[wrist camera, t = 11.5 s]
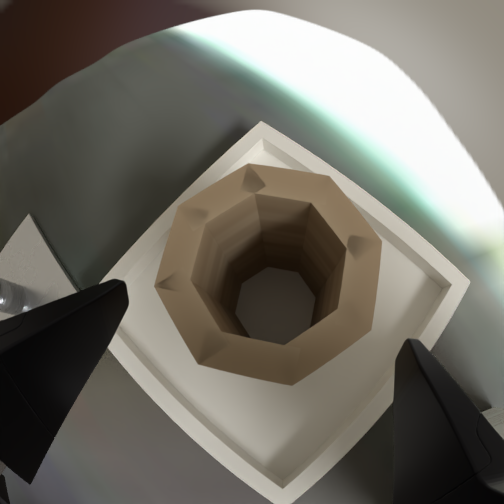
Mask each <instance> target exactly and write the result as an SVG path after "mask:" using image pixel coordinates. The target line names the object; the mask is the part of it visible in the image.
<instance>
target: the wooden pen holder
mask: <svg viewBox="0 0 504 504" xmlns="http://www.w3.org/2000/svg"><path fill="white" fill-rule="evenodd" d="M381 249H382V240H381V239H380V238H379V236H378V235H377V234H376V232H375V231H374V230H373V229H372V227H371V226H370V225H369V223H368V222H367V221H366V220H365V218H364V217H363V216H362V215H361V213H360V212H359V211H358V210H357V208H356V207H355V206H354V205H353V203H352V202H351V201H350V200H349V199H348V197H347V196H346V195H345V194H344V193H343V191H342V190H341V189H340V188H339V187H338V185H337V184H336V183H335V182H334V181H333V180H332V178H331V177H330V176H327V175H322V174H316V173H310V172H304V171H298V170H292V169H286V168H279V167H272V166H265V165H258V164H250V163H248V164H246V165H244V166H242V167H241V168H239V169H237V170H236V171H234V172H232V173H231V174H229V175H227V176H225V177H224V178H222V179H220V180H219V181H217V182H215V183H214V184H212V185H211V186H209V187H207V188H206V189H204V190H202V191H201V192H199V193H198V194H196V195H194V196H193V197H191V198H190V199H188V200H186V201H185V202H183V203H182V204H180V205H178V207H177V210H176V214H175V217H174V220H173V223H172V226H171V229H170V233H169V236H168V239H167V242H166V246H165V249H164V252H163V256H162V259H161V263H160V266H159V270H158V273H157V277H156V280H155V284H154V287H155V289H156V291H157V293H158V295H159V297H160V299H161V301H162V302H163V304H164V306H165V308H166V310H167V312H168V314H169V315H170V317H171V319H172V321H173V323H174V324H175V326H176V328H177V330H178V332H179V333H180V335H181V337H182V339H183V340H184V342H185V344H186V345H187V347H188V349H189V351H190V352H191V354H192V356H193V357H194V359H195V361H196V362H197V364H198V365H202V366H206V367H210V368H213V369H217V370H221V371H225V372H229V373H233V374H238V375H242V376H246V377H251V378H255V379H260V380H265V381H269V382H274V383H279V384H285V385H290V386H293V385H294V384H296V383H297V382H299V381H300V380H302V379H304V378H305V377H307V376H308V375H310V374H311V373H313V372H314V371H316V370H317V369H319V368H320V367H321V366H323V365H324V364H326V363H327V362H329V361H330V360H332V359H333V358H334V357H336V356H337V355H339V354H340V353H341V352H343V351H344V350H346V349H347V348H348V347H350V346H351V345H352V344H354V343H355V342H356V341H358V340H359V339H360V338H362V337H363V336H364V335H366V334H367V333H368V332H370V331H371V329H372V323H373V316H374V310H375V303H376V295H377V287H378V279H379V270H380V260H381ZM267 267H272V268H277V269H282V270H288V271H293V272H298V273H299V275H300V276H301V277H302V279H303V280H304V282H305V283H306V285H307V286H308V287H309V289H310V290H311V292H312V293H313V295H314V296H315V297H316V298H315V303H314V309H313V314H312V319H311V324H310V328H309V329H308V330H306V331H305V332H303V333H302V334H300V335H299V336H298V337H296V338H294V339H293V340H291V341H290V342H288V343H287V344H285V345H281V344H276V343H271V342H266V341H261V340H257V339H252V338H251V337H250V336H249V334H248V333H247V331H246V330H245V328H244V326H243V325H242V323H241V322H240V320H239V319H238V317H237V315H236V314H235V312H236V308H237V303H238V299H239V295H240V290H241V286H242V283H244V282H245V281H247V280H248V279H250V278H251V277H253V276H254V275H256V274H258V273H259V272H261V271H262V270H264V269H265V268H267Z"/></svg>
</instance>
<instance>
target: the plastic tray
mask: <svg viewBox="0 0 504 504" xmlns="http://www.w3.org/2000/svg"><path fill="white" fill-rule="evenodd" d="M248 163H250V164H258V165H265V166H272V167H279V168H286V169H292V170H298V171H304V172H310V173H316V174H322V175H327V176H330V177H331V178H332V180H333V181H334V182H335V183H336V184H337V185H338V187H339V188H340V189H341V190H342V191H343V193H344V194H345V195H346V196H347V197H348V199H349V200H350V201H351V202H352V203H353V205H354V206H355V207H356V208H357V210H358V211H359V212H360V213H361V215H362V216H363V217H364V218H365V220H366V221H367V222H368V223H369V225H370V226H371V227H372V229H373V230H374V231H375V232H376V234H377V235H378V236H379V238H380V239H381V240H382V249H381V260H380V270H379V279H378V287H377V295H376V303H375V310H374V316H373V323H372V329H371V331H370V332H368V333H367V334H366V335H364V336H363V337H362V338H360V339H359V340H358V341H356V342H355V343H354V344H352V345H351V346H350V347H348V348H347V349H346V350H344V351H343V352H341V353H340V354H339V355H337V356H336V357H334V358H333V359H332V360H330V361H329V362H327V363H326V364H324V365H323V366H321V367H320V368H319V369H317V370H316V371H314V372H313V373H311V374H310V375H308V376H307V377H305V378H304V379H302V380H300V381H299V382H297V383H296V384H294V385H293V386H290V385H285V384H279V383H274V382H269V381H265V380H260V379H255V378H251V377H246V376H242V375H238V374H233V373H229V372H225V371H221V370H217V369H213V368H210V367H206V366H202V365H198V364H197V362H196V361H195V359H194V357H193V356H192V354H191V352H190V351H189V349H188V347H187V345H186V344H185V342H184V340H183V339H182V337H181V335H180V333H179V332H178V330H177V328H176V326H175V324H174V323H173V321H172V319H171V317H170V315H169V314H168V312H167V310H166V308H165V306H164V304H163V302H162V301H161V299H160V297H159V295H158V293H157V291H156V289H155V287H154V284H155V280H156V277H157V273H158V270H159V266H160V263H161V259H162V256H163V252H164V249H165V246H166V242H167V239H168V236H169V233H170V229H171V226H172V223H173V220H174V217H175V214H176V210H177V207H178V205H180V204H182V203H183V202H185V201H186V200H188V199H190V198H191V197H193V196H194V195H196V194H198V193H199V192H201V191H202V190H204V189H206V188H207V187H209V186H211V185H212V184H214V183H215V182H217V181H219V180H220V179H222V178H224V177H225V176H227V175H229V174H231V173H232V172H234V171H236V170H237V169H239V168H241V167H242V166H244V165H246V164H248ZM111 279H119V280H123V281H124V282H125V283H126V285H127V291H128V297H129V306H128V309H127V311H126V313H125V315H124V317H123V319H122V321H121V323H120V325H119V327H118V329H117V331H116V333H115V335H114V337H113V339H112V340H111V342H110V344H109V346H108V349H109V350H110V351H111V352H112V354H113V355H114V356H115V357H116V358H117V360H118V361H119V362H120V363H121V364H122V366H123V367H124V368H125V369H126V370H127V371H128V373H129V374H130V375H131V376H132V377H133V378H134V380H135V381H136V382H137V383H138V384H139V385H140V386H141V387H142V388H143V390H144V391H145V392H146V393H147V394H148V395H149V396H150V397H151V398H152V399H153V400H154V401H155V402H156V403H157V404H158V406H159V407H160V408H161V409H162V410H163V411H164V412H165V413H166V414H167V415H168V416H169V417H170V418H171V419H172V420H173V421H174V422H175V423H176V424H177V425H179V426H180V427H181V428H182V429H183V430H184V431H185V432H186V433H187V434H188V435H189V436H190V437H191V438H192V439H193V440H195V441H196V442H197V443H198V444H199V445H200V446H201V447H202V448H203V449H205V450H206V451H207V452H208V453H209V454H210V455H211V456H213V457H214V458H215V459H216V460H217V461H219V462H220V463H221V464H222V465H223V466H225V467H226V468H227V469H228V470H230V471H231V472H232V473H233V474H235V475H236V476H237V477H238V478H240V479H241V480H242V481H244V482H245V483H246V484H248V485H249V486H250V487H252V488H253V489H254V490H256V491H257V492H258V493H260V494H261V495H263V496H264V497H265V498H267V499H268V500H270V501H271V502H273V503H274V504H291V503H292V502H294V501H295V500H296V499H297V498H298V497H300V496H301V495H302V494H303V493H304V492H306V491H307V490H308V489H309V488H310V487H311V486H313V485H314V484H315V483H316V482H317V481H318V480H319V479H320V478H322V477H323V476H324V475H325V474H326V473H327V472H328V471H329V470H330V469H331V468H332V467H333V466H334V465H335V464H336V463H337V462H338V461H340V460H341V459H342V458H343V457H344V456H345V455H346V454H347V453H348V452H349V451H350V449H351V448H352V447H353V446H354V445H355V444H356V443H357V442H358V441H359V440H360V439H361V438H362V437H363V436H364V435H365V434H366V432H367V431H368V430H369V429H370V428H371V427H372V426H373V425H374V424H375V422H376V421H377V420H378V419H379V418H380V417H381V415H382V414H383V413H384V412H385V411H386V409H387V408H388V407H389V406H390V405H391V403H392V402H393V396H394V374H395V360H396V357H397V355H398V353H399V351H400V349H401V347H402V345H403V343H404V341H405V340H406V339H407V338H412V339H418V340H420V341H421V342H422V343H423V345H424V346H425V347H426V348H427V349H428V350H429V351H430V350H431V349H432V347H433V346H434V344H435V343H436V341H437V340H438V338H439V337H440V335H441V333H442V332H443V330H444V328H445V327H446V325H447V324H448V322H449V320H450V319H451V317H452V315H453V313H454V312H455V310H456V308H457V306H458V305H459V303H460V301H461V299H462V297H463V295H464V294H465V292H466V290H467V288H468V286H469V284H470V281H469V280H468V279H467V278H466V277H465V276H464V275H463V274H462V273H461V272H460V271H459V270H458V269H457V268H456V267H455V266H454V265H453V264H452V263H451V262H450V261H448V260H447V259H446V258H445V257H444V256H443V255H442V254H441V253H440V252H439V251H437V250H436V249H435V248H434V247H433V246H432V245H431V244H430V243H428V242H427V241H426V240H425V239H424V238H423V237H422V236H420V235H419V234H418V233H417V232H416V231H415V230H413V229H412V228H411V227H410V226H409V225H407V224H406V223H405V222H404V221H403V220H401V219H400V218H399V217H398V216H396V215H395V214H394V213H393V212H391V211H390V210H389V209H388V208H386V207H385V206H384V205H383V204H381V203H380V202H379V201H378V200H376V199H375V198H374V197H372V196H371V195H370V194H368V193H367V192H366V191H364V190H363V189H362V188H360V187H359V186H358V185H356V184H355V183H354V182H352V181H351V180H350V179H348V178H347V177H345V176H344V175H343V174H341V173H340V172H338V171H337V170H336V169H334V168H333V167H331V166H330V165H328V164H327V163H326V162H324V161H323V160H321V159H320V158H318V157H317V156H315V155H314V154H312V153H311V152H309V151H308V150H306V149H305V148H303V147H302V146H300V145H299V144H297V143H296V142H294V141H293V140H291V139H289V138H288V137H286V136H285V135H283V134H281V133H280V132H278V131H277V130H275V129H273V128H272V127H270V126H268V125H267V124H265V123H264V122H262V121H261V122H259V123H258V124H257V125H256V126H255V127H254V128H253V129H251V130H250V131H249V132H248V133H247V134H246V135H245V136H243V137H242V138H241V139H240V140H239V141H238V142H237V143H236V144H234V145H233V146H232V147H231V148H230V149H229V150H228V151H227V152H226V153H224V154H223V155H222V156H221V157H220V158H219V159H218V160H217V161H216V162H215V163H214V164H213V165H212V166H210V167H209V168H208V169H207V170H206V171H205V172H204V173H203V174H202V175H201V176H200V177H199V178H198V179H197V180H196V181H195V182H194V183H193V184H192V185H191V186H190V187H189V188H188V189H187V190H186V191H185V192H184V193H183V194H182V195H181V196H179V197H178V198H177V199H176V200H175V202H174V203H173V204H172V205H171V206H170V207H169V208H168V209H167V210H166V211H165V212H164V213H163V214H162V215H161V216H160V217H159V218H158V219H157V220H156V221H155V222H154V223H153V224H152V225H151V226H150V227H149V228H148V229H147V230H146V232H145V233H144V234H143V235H142V236H141V237H140V238H139V239H138V240H137V241H136V242H135V243H134V244H133V246H132V247H131V248H130V249H129V250H128V251H127V252H126V253H125V254H124V256H123V257H122V258H121V259H120V260H119V261H118V262H117V263H116V265H115V266H114V267H113V268H112V269H111V270H110V271H109V273H108V274H107V275H106V276H105V277H104V278H103V279H102V281H101V282H100V283H103V282H106V281H108V280H111ZM100 283H99V284H100ZM315 298H316V297H315V296H314V295H313V293H312V292H311V290H310V289H309V287H308V286H307V285H306V283H305V282H304V280H303V279H302V277H301V276H300V275H299V273H298V272H293V271H288V270H282V269H277V268H272V267H267V268H265V269H264V270H262V271H261V272H259V273H258V274H256V275H254V276H253V277H251V278H250V279H248V280H247V281H245V282H244V283H242V286H241V290H240V295H239V299H238V303H237V308H236V312H235V314H236V315H237V317H238V319H239V320H240V322H241V323H242V325H243V326H244V328H245V330H246V331H247V333H248V334H249V336H250V337H251V338H252V339H257V340H261V341H266V342H271V343H276V344H281V345H285V344H287V343H288V342H290V341H291V340H293V339H294V338H296V337H298V336H299V335H300V334H302V333H303V332H305V331H306V330H308V329H309V328H310V324H311V319H312V314H313V309H314V303H315Z"/></svg>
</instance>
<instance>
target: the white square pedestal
mask: <svg viewBox="0 0 504 504" xmlns="http://www.w3.org/2000/svg"><path fill="white" fill-rule="evenodd" d="M79 291H80V290H79V289H78V287H77V286H76V285H75V283H74V282H73V280H72V279H71V277H70V276H69V274H68V273H67V271H66V270H65V268H64V267H63V265H62V264H61V262H60V260H59V259H58V257H57V256H56V254H55V253H54V251H53V249H52V248H51V246H50V244H49V243H48V241H47V239H46V238H45V236H44V234H43V233H42V231H41V229H40V227H39V226H38V224H37V222H36V220H35V219H34V217H33V216H32V215H30V214H28V215H27V217H26V218H25V219H24V220H23V222H22V223H21V224H20V226H19V227H18V229H17V230H16V231H15V233H14V234H13V235H12V237H11V238H10V240H9V241H8V243H7V244H6V245H5V247H4V248H3V250H2V251H1V253H0V321H1V320H4V319H7V318H10V317H13V316H15V315H18V314H21V313H23V312H26V311H27V312H28V311H29V310H31V309H34V308H36V307H39V306H42V305H44V304H47V303H49V302H52V301H55V300H57V299H60V298H63V297H65V296H68V295H71V294H73V293H76V292H79Z"/></svg>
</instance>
